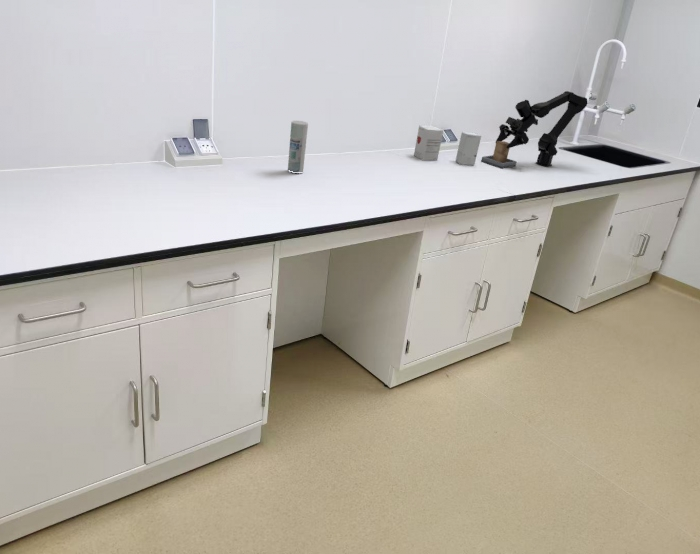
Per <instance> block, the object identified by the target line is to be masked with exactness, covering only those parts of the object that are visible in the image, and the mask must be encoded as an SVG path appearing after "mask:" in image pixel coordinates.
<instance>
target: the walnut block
mask: <svg viewBox="0 0 700 554" xmlns="http://www.w3.org/2000/svg"><path fill="white" fill-rule="evenodd" d="M495 142H496V143H495V145H494V149H493V150H494V151H493V153H492V154H493V158H492V160H495V161H498V162H501V163H506V160H507V159H508V156H509V151H510V148H508V149H507V148H506V147H507V145H508V144H509V143H510V142H507V141H504V140H503V141H496V140H495Z"/></svg>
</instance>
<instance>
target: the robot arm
mask: <svg viewBox="0 0 700 554" xmlns="http://www.w3.org/2000/svg"><path fill="white" fill-rule="evenodd" d="M566 103H567V109H566V110H565V112H564V113H563V114H562V116H561V117H560V118H559V119H558V121H557V122H556V123H555V124H554V126H553V128H552V129H551V130H550V131H549V132H548V133H545V132H543V134H542V136H541V137H540V138H538V142H537V148H538V152H539V154H538V156H537V160H536V162H535V164H536V165H541V166H543V167H551V166H553V164H552V161H553V158H554V156H556V155H557V154H558V150H557V148H556V145H557V144H558V138H559V137H560V135H561V134H562V133H563V132H564V130H565V129H566V127H568V125H569V123H570V122H571V121H572V120H573V118H574V117H575V116H576V115H577V114H579V113H581V112H583V110H585V109H586V107H587V106H588V98H587V97H585V96H581V95H577V94H575V93H574V92H572V91H568V90H566V91H564V92H563V93H561V94H559V95H557V96H555V97H553V98H551V99H549V100H547V101H543V102H537V103H534V104H533V105H531V104H530V101H529V99H524V100H522V101H520V102H517V103H516V104H515V106H514V107H515V109H516V111H517V113H518V115H519V117H520V118H521V119H519V118H513V117H511V116H508V118H507V119H506V121H505V124H502V123H501V124H500V125H499V127H498V128H499V131H500V132H499V135H498V136H497V138H496V140H495V144H496V141H504V140H506V139H508V138H509V137H510V136H511V135H512V136H514V138H513V139H512V140H511V141H510V142H508V143H509V144H508V145H507V147H506V148H507V149H508V148H509V149H511V148H514V147H517V146H523V145H527V143H528V144H529V140H530V138H529V136H528V135H527V133H528V132H529V129H530V127H531V126H532V125H535V126H538V125H539V122H538V121H539V119H537V118H541V119H543V118H544V117H546V116H547V115H549V114H550V112H551V111H553V110H554V109H557V108H558V107H560V106H561V105H564V104H566Z"/></svg>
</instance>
